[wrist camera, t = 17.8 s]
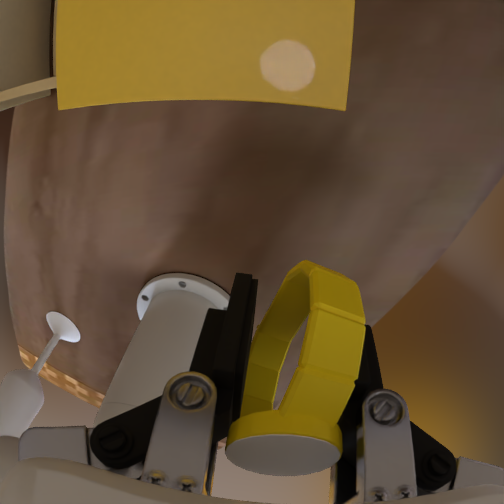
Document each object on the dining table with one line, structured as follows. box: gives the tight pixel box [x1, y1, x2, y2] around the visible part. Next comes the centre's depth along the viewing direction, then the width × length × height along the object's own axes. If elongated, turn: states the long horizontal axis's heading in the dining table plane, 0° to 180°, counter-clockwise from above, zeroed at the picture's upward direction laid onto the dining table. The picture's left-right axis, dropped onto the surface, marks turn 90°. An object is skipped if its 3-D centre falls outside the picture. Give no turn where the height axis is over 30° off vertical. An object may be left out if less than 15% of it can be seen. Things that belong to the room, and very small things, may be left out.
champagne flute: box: [0, 312, 80, 438], centre depth 33 cm, size 7×7×24 cm
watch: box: [225, 260, 366, 476], centre depth 9 cm, size 6×3×6 cm, turn 159°
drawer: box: [0, 0, 58, 111], centre depth 16 cm, size 19×13×9 cm, turn 87°
